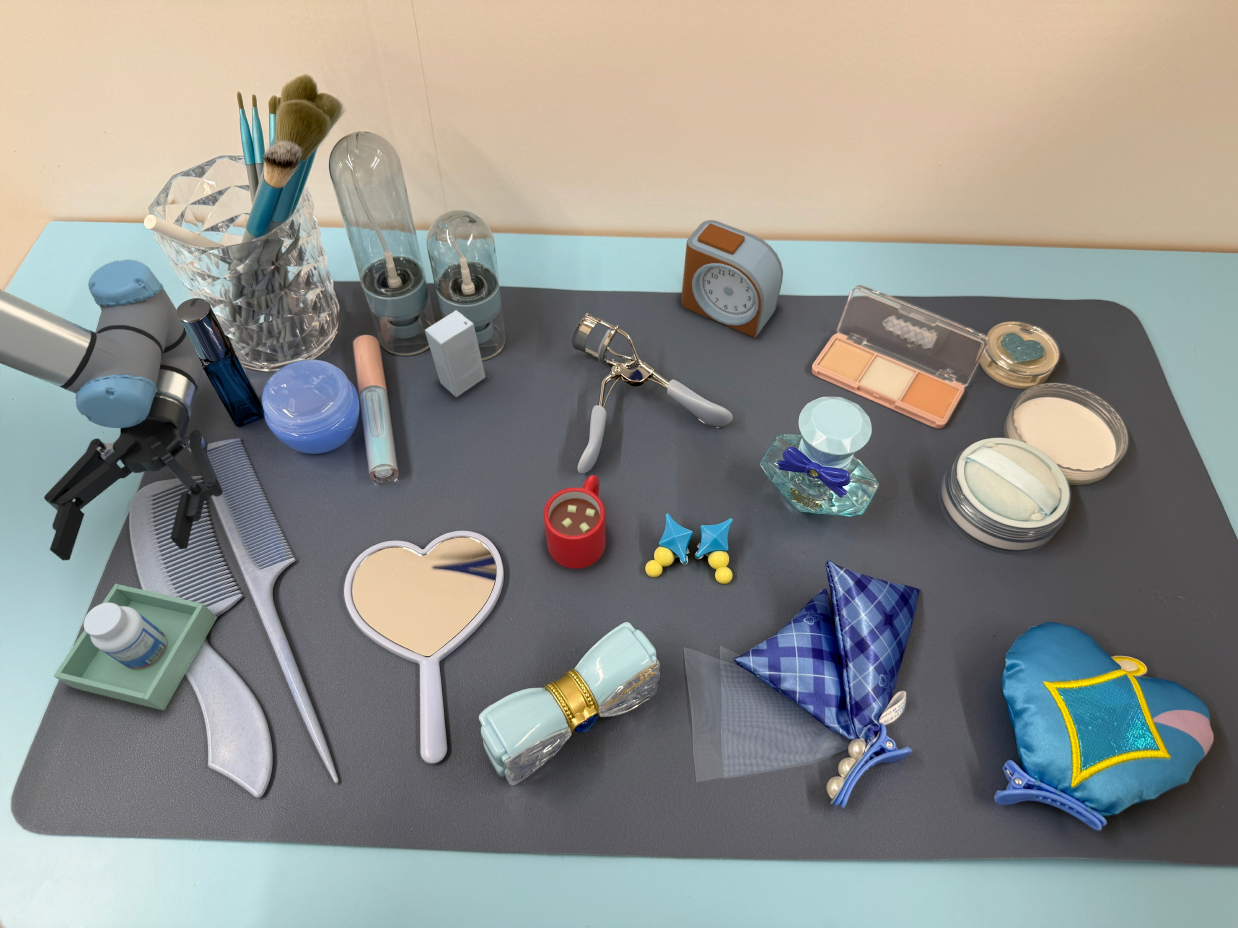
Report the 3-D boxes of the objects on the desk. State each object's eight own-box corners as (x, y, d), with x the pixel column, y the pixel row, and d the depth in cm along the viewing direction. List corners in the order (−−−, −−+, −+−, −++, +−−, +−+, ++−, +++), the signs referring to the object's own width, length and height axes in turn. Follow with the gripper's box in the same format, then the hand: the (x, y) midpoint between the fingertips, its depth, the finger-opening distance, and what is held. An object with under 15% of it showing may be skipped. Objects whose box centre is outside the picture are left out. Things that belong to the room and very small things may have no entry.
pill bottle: (121, 637, 96) (77, 603, 88) (167, 623, 97) (127, 589, 89) (121, 677, 93) (75, 646, 85) (168, 662, 94) (127, 631, 86)
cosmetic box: (469, 364, 123) (457, 308, 113) (486, 378, 122) (475, 323, 112) (438, 384, 121) (423, 329, 111) (455, 399, 119) (441, 344, 109)
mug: (621, 501, 108) (621, 470, 102) (595, 575, 102) (594, 546, 95) (568, 488, 110) (565, 456, 103) (539, 560, 103) (534, 530, 97)
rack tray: (73, 687, 93) (52, 676, 89) (131, 597, 100) (115, 583, 96) (164, 710, 91) (147, 699, 88) (217, 617, 98) (203, 603, 95)
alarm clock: (675, 306, 131) (681, 241, 120) (699, 277, 135) (707, 212, 124) (754, 339, 127) (767, 275, 116) (776, 308, 131) (791, 244, 120)
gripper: (264, 420, 108) (239, 553, 96) (78, 436, 106) (28, 574, 94) (243, 385, 102) (214, 522, 90) (45, 401, 100) (-12, 544, 88)
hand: (119, 549), depth 92 cm, fingers open, 13 cm apart
